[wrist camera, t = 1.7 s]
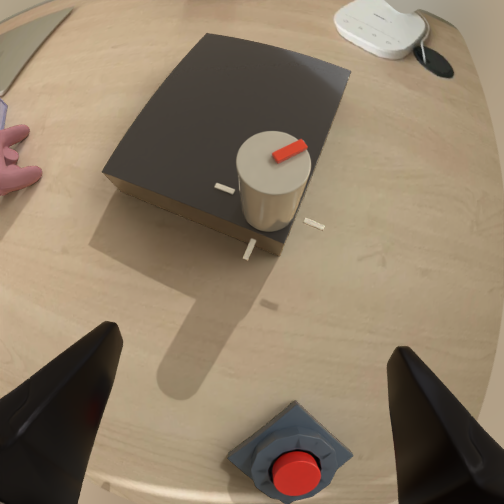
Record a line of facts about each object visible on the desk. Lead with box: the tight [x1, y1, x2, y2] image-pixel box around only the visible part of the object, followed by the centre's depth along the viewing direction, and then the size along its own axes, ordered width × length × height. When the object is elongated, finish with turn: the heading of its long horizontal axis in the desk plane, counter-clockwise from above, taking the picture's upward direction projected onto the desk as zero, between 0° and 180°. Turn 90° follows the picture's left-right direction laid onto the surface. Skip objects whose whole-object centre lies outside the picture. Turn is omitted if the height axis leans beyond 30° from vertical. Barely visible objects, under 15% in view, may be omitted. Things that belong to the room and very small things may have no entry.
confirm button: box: [272, 451, 321, 496], centre depth 16 cm, size 3×3×2 cm
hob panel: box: [102, 33, 351, 261], centre depth 23 cm, size 20×17×4 cm
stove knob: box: [236, 131, 311, 232], centre depth 16 cm, size 4×4×6 cm
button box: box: [227, 400, 353, 504], centre depth 18 cm, size 7×7×3 cm
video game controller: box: [0, 125, 42, 196], centre depth 23 cm, size 10×5×7 cm, turn 37°
